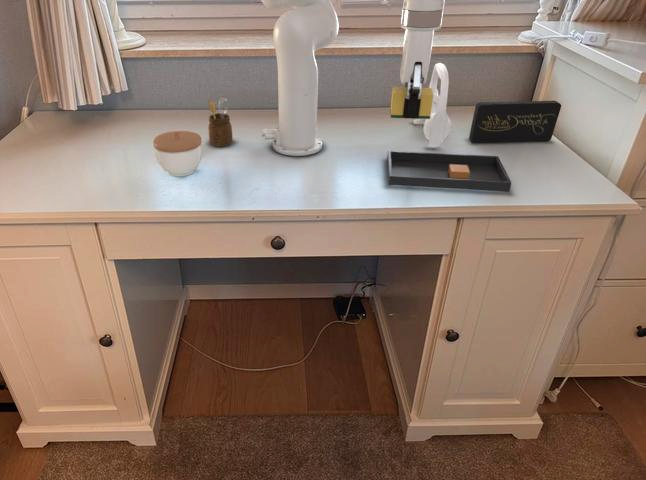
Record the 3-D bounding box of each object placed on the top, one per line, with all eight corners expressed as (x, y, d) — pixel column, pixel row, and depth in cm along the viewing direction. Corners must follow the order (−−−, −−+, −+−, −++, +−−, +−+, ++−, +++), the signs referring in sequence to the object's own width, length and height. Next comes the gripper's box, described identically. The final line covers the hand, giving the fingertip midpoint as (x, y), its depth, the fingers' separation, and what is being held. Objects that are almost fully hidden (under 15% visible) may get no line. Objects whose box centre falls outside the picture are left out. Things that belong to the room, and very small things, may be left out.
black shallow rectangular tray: (388, 187, 112) (389, 176, 110) (386, 160, 123) (388, 150, 122) (508, 194, 109) (511, 182, 107) (495, 166, 120) (498, 156, 119)
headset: (448, 151, 128) (463, 77, 117) (419, 150, 128) (431, 76, 118) (438, 123, 144) (450, 56, 133) (413, 122, 145) (423, 55, 134)
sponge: (390, 117, 107) (393, 93, 105) (390, 110, 112) (392, 86, 109) (429, 119, 106) (433, 94, 104) (428, 111, 110) (431, 87, 108)
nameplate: (546, 138, 134) (558, 100, 128) (550, 141, 133) (562, 102, 127) (468, 140, 133) (476, 102, 127) (470, 143, 132) (479, 104, 126)
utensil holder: (237, 141, 134) (234, 94, 127) (224, 149, 130) (220, 101, 123) (218, 137, 136) (214, 91, 129) (204, 145, 132) (200, 98, 125)
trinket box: (154, 165, 122) (148, 127, 116) (198, 159, 125) (194, 121, 119) (162, 184, 114) (156, 143, 108) (209, 176, 117) (205, 136, 111)
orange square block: (450, 178, 114) (451, 171, 113) (447, 170, 117) (449, 164, 116) (468, 179, 113) (470, 172, 112) (466, 171, 117) (467, 165, 116)
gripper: (400, 12, 106) (391, 101, 116) (403, 27, 92) (392, 126, 102) (437, 12, 105) (424, 101, 115) (446, 27, 91) (431, 128, 101)
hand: (409, 112), depth 109 cm, fingers closed on sponge, 5 cm apart
